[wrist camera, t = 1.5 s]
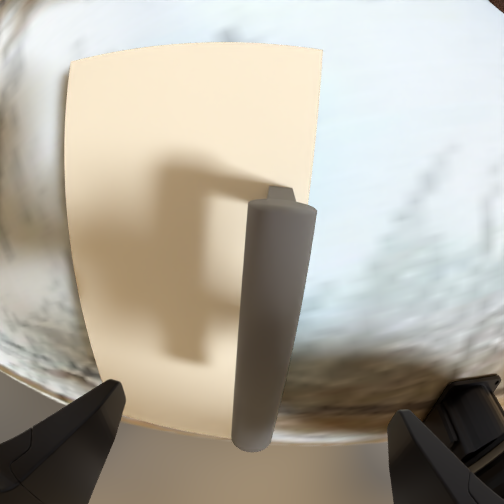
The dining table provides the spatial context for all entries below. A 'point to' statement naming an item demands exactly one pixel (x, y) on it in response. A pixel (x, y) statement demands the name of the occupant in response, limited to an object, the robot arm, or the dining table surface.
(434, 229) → the dining table surface
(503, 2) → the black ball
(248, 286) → the lid flap
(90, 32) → the dining table surface
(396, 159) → the dining table surface
